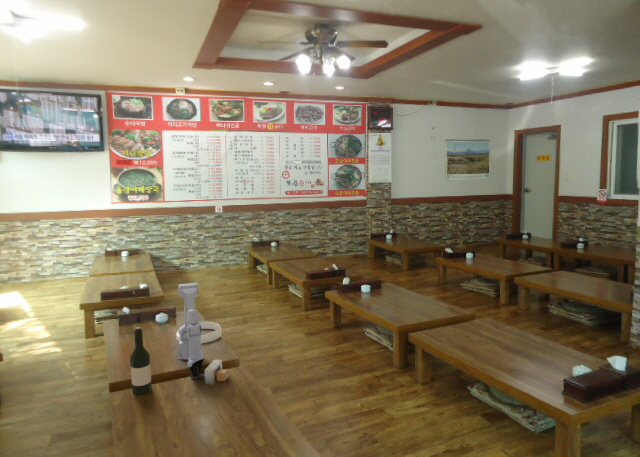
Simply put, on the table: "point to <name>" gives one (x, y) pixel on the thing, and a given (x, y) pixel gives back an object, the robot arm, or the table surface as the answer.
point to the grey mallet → (220, 376)
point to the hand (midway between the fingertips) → (196, 374)
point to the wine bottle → (140, 366)
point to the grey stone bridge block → (212, 371)
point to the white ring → (208, 336)
